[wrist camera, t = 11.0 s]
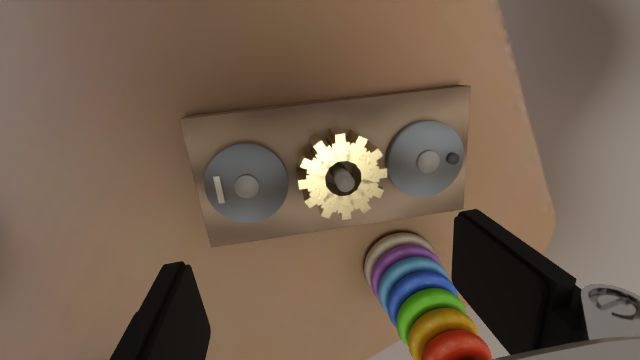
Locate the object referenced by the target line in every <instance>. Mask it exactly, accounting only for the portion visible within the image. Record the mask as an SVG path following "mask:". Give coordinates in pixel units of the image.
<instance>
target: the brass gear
mask: <svg viewBox="0 0 640 360" xmlns="http://www.w3.org/2000/svg"><path fill="white" fill-rule="evenodd" d="M329 134H330V137H326V139H327V141H326V139H325V138H323V139H322V140H321V138H320V137H319V136H318V134H315V135H314V136H313V137H311V138H310V141H311V143H312V145H313V146H312V147H311V148H312V150H311V149H310V150H309V152H307V151H305V150H302V149H301V151H300V153H299V156H298V161H299V165H300V167H302V168H304V169H297V170H296V174H297V180H298V186H299V190H300V189H302V193H303V197H304V202H305V203H306V204H307V205H308V207H309V208H311V207H313V206H314V205H316V204H317V206H318V209H319V212H320V215H321V216H323V217H325V218H328V219H329V218H330V216H331V214H332V212H334V213H336V211H337V212H338V213H339V214H340V216H341V219H342V220H346V219H351V211H354V208H355V209H356V210H357V209H358V208H360V210H361V211H362V212H363V214H364V213H365V212H367V211H368V210H370V209H371V207H370V206H369V204H368V203H367V202H368V201H370V200H369V199H368V198H372V196H375V197H378V198H381V196H382V194H383V192H384V189H383V188H382V187H381V186H380V185H379V184H378V183H377V182H379V179H380V178H387V168H386V167H385V166H384V165H383V164H382V163H380V162H379V161H378V159H380V158H381V157H382V156H383V155H382V153H381V152H380V150H379V149H378V148H377V147H376V146H375V145H373V144H372V143H370V142H369V141H367V140H368V139H366V138H365V137H364V136H362V135H361V134H360V133H358V132H356V131H353V130H350V132H349V134H348V136H345V133H344V132H343V131H342V130H340V129H339V128H329ZM341 161H349V162H351V163H353V172H352V174H351V176H352V178H353V179H354V182H355V184H354V187H353V189H352V190H350V191H348V192H342V191H340V190H339V188H338V187H337V185H336V184H332V183H329V182H326V181H325V176H326V173H327V171H328V169H329V168H330V167H331V166H332V165H334V164H335V163H337V162H341Z"/></svg>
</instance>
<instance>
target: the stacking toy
mask: <svg viewBox="0 0 640 360" xmlns="http://www.w3.org/2000/svg"><path fill="white" fill-rule="evenodd" d="M364 273H365V277H366V280H367V282H368V284H369V286H370V287H371V288H372V289H373V292H374V294H375V296H376V297H377V299H378V300H379V301H380V303H381V305H382V307H383V309H384V310H385V311H386V312H387V313H388V314H389V317H390V320H391V321H392V323H393V324H394V326H395V327H396V328H397V331H398V334H399V336H400V338H401V339H402V341H403V342H404V343H405V344H406V345H407V346H408V347H409V350H410V353H411V355H412V357H413V358H414V360H491V359H492V357H491V352H490V349H489V348H488V346H487V345H486V343H485V342H484V341H483V340H482V339H481V338H480V337H479V336H478V332H477V328H476V326H475V324H474V323H473V321H472V320H471V319H470V318H469V317H468V316H467V315H466V310H465V307H464V305H463V304H462V302H461V301H460V299H459V298H458V294H457V291H456V288H455V287H454V285H453V283H452V282H451V281H450V280H449V277H448V274H447V273H446V271H445V270H444V268H443V267H442V265H441V262H440V261H439V259H438V257H437V256H436V255H435V253H434V251H433V249H432V247H431V246H430V244H429V243H428V242H427V241H426V240H425V239H423V238H422V237H420V236H418V235H415V234H412V233H395V234H391V235H388V236H386V237H384V238H382V239H381V240H379V241H378V242H377V243H376V244H375V245H374V246H373V247H372V248H371V249H370V251H369V252H368V254H367V257H366V259H365V264H364Z"/></svg>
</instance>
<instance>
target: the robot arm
mask: <svg viewBox="0 0 640 360" xmlns="http://www.w3.org/2000/svg"><path fill="white" fill-rule="evenodd" d="M452 282H453V285H454V287H455V288H456V289H457V290H458V292H459V293H460V294H461V295H462V297H463V298H464V299H465V300H466V301H467V303H468V304H469V305H470V306H471V308H472V309H473V310H474V311H475V312H476V314H477V315H478V316H479V317H480V318H481V320H482V321H483V322H484V323H485V324H486V326H487V327H488V328H489V329H490V331H491V332H492V333H493V334H494V335H495V337H496V338H497V339H498V340H499V342H500V343H501V344H502V345H503V346H504V348H505V349H506V350H507V351H508V352H509V354H510V355H509V356H505V357H500V358H496V359H491V360H640V297H639V296H638V295H636V294H634V293H632V292H630V291H627V290H625V289H622V288H619V287H615V286H612V285H605V284H591V285H588V286H585V287H584V288H583V289H580V288H579V287H577V286H576V285H575V283H576V278H574V277H573V276H571V275H570V274H569V273H567V272H566V271H564V270H563V269H562V268H560V267H559V266H557V265H556V264H554V263H553V262H552V261H550V260H549V259H547V258H546V257H544V256H543V255H542V254H540V253H539V252H537V251H536V250H535V249H533V248H532V247H530V246H529V245H527V244H526V243H525V242H523V241H522V240H520V239H519V238H518V237H516V236H515V235H513V234H512V233H510V232H509V231H508V230H506V229H505V228H503V227H502V226H500V225H499V224H498V223H496V222H495V221H493V220H492V219H491V218H489V217H488V216H486V215H485V214H483V213H482V212H481V211H479V210H477V209H473V210H468V211H462V212H460V213H459V214H458V216H457V217H455V219H454V235H453V256H452ZM210 333H211V331H210V324H209V321H208V318H207V315H206V312H205V309H204V306H203V302H202V299H201V296H200V293H199V290H198V287H197V284H196V281H195V277H194V274H193V271H192V268H191V266H190V265H185V263H184V262H182V261H181V262H175V263H170V264H165V265H163V267H162V268H161V270H160V272H159V274H158V276H157V277H156V279H155V281H154V283H153V285H152V287H151V289H150V290H149V292H148V294H147V296H146V298H145V300H144V301H143V303H142V305H141V307H140V309H139V311H138V312H136V314H135V315H134V316H133V318H132V320H131V322H130V324H129V325H128V327H127V329H126V331H125V333H124V334H123V336H122V338H121V340H120V342H119V344H118V345H117V347H116V349H115V351H114V353H113V354H112V356H111V358H110V360H205V358H206V353H207V349H208V344H209V340H210Z"/></svg>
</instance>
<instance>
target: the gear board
mask: <svg viewBox="0 0 640 360" xmlns="http://www.w3.org/2000/svg"><path fill="white" fill-rule="evenodd" d="M470 90H471V86H468V85H453V86H445V87H436V88H427V89H418V90H410V91H401V92H392V93H383V94H375V95H366V96H357V97H348V98H340V99H331V100H322V101H313V102H305V103H296V104H287V105H278V106H270V107H261V108H252V109H243V110H235V111H226V112H217V113H208V114H200V115H191V116H185V117H183V118H181V119H179V120H180V124H181V128H182V132H183V136H184V140H185V144H186V148H187V152H188V156H189V160H190V164H191V168H192V172H193V176H194V180H195V184H196V189H197V193H198V197H199V201H200V205H201V209H202V213H203V217H204V221H205V225H206V229H207V233H208V237H209V241H210V245H211V247H218V246H224V245H231V244H237V243H244V242H251V241H257V240H264V239H270V238H277V237H284V236H290V235H297V234H303V233H310V232H316V231H323V230H330V229H336V228H343V227H349V226H356V225H363V224H369V223H376V222H382V221H389V220H395V219H402V218H409V217H415V216H422V215H428V214H435V213H442V212H448V211H455V210H461V209H463V206H464V189H465V173H466V156H467V140H468V123H469V106H470ZM329 128H339V129H340V130H342V131H343V132H344V133H345V136H348V134H349V132H350V130H353V131H356V132H358V133H360V134H361V135H362V136H364V137H365V138H366V139H368V140H367V141H369V142H370V143H372V144H373V145H375V146H376V147H377V148H378V149H379V150H380V152H381V153H382V155H383V156H382V157H381V158H380V159H378V161H379V162H380V163H382V164H383V165H384V166H385V167H386V168H387V178H380V179H379V182H377V183H378V184H379V185H380V186H381V187H382V188H383V189H384V192H383V194H382V196H381V198H378V197H375V196H372V198H368V199H369V200H370V201H368V202H367V203H368V204H369V206H370V207H371V209H370V210H368V211H367V212H365V213H364V214H363V212H362V211H361V210H360V208H358V209H357V210H356V209H355V208H354V211H351V219H346V220H342V219H341V216H340V214H339V213H338V212H337V211H336V213H334V212H332V214H331V216H330V218H329V219H328V218H325V217H323V216H321V215H320V212H319V209H318V206H317V204H316V205H314V206H313V207H311V208H309V207H308V205H307V204H306V203H305V202H304V197H303V193H302V189H300V190H299V186H298V180H297V174H296V170H297V169H304V168H302V167H300V165H299V161H298V156H299V153H300V151H301V149H302V150H305V151H307V152H309V150H310V149H311V150H312V148H311V147H312V146H313V145H312V143H311V141H310V138H311V137H313V136H314V135H315V134H318V136H319V137H320V138H321V140H322V139H323V138H325V139H326V137H330V134H329ZM326 141H327V139H326ZM352 172H353V163H351V162H349V161H341V162H337V163H335V164H334V165H332V166H331V167H330V168H329V169H328V171H327V173H326V176H325V181H326V182H329V183H332V184H336V185H337V187H338V188H339V190H340V191H342V192H348V191H350V190H352V189H353V187H354V184H355V182H354V179H353V178H352V176H351V174H352Z"/></svg>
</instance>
